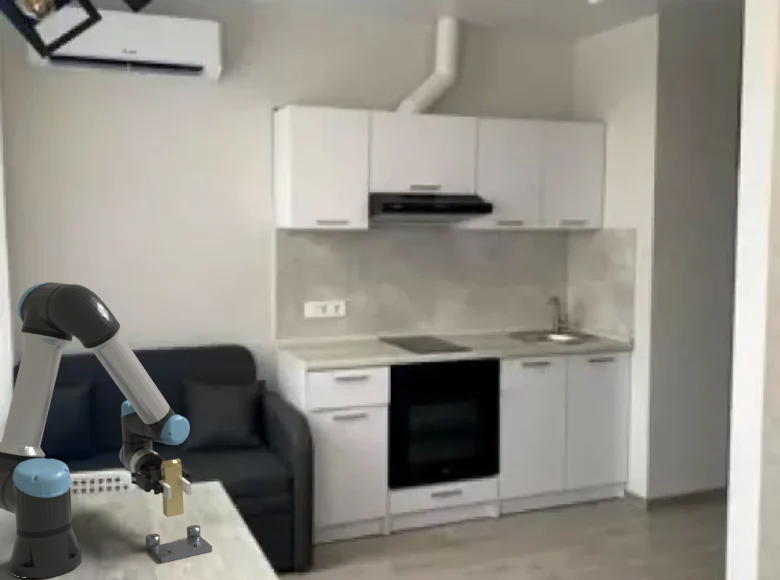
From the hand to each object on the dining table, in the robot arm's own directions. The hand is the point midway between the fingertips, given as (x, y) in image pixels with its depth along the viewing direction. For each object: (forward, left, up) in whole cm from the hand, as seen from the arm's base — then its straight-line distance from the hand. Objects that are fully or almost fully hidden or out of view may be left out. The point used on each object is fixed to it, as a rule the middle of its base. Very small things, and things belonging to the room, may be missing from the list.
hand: (179, 491), depth 199 cm
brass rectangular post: (0, +5, -7) cm, 9 cm away
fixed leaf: (0, +1, -14) cm, 14 cm away
